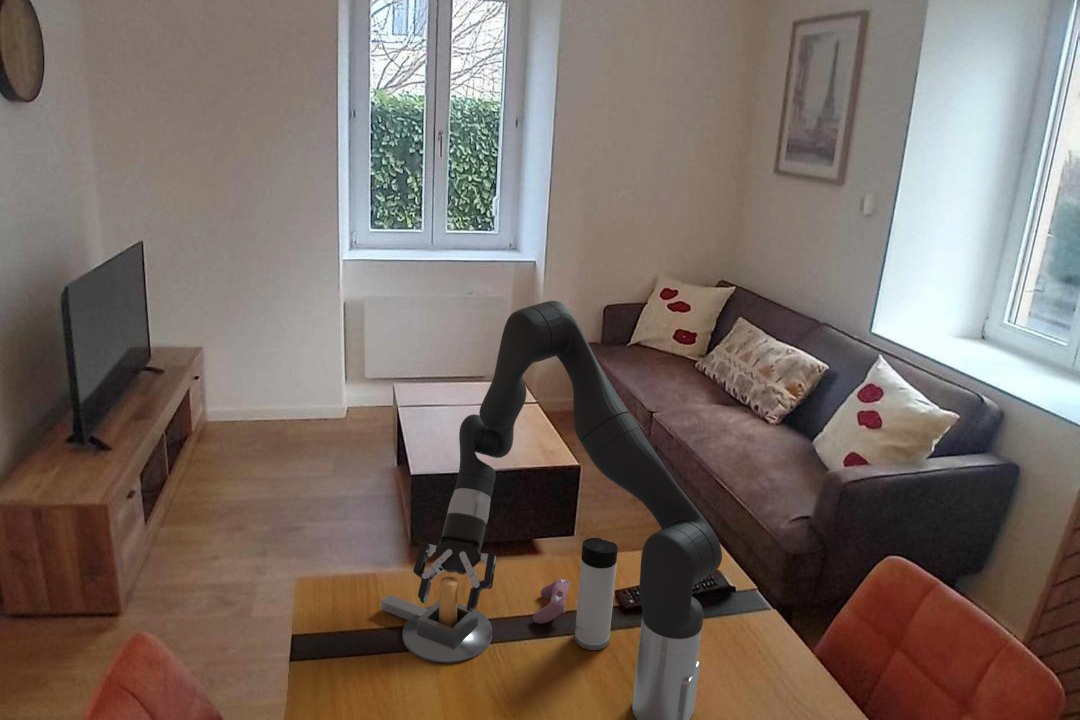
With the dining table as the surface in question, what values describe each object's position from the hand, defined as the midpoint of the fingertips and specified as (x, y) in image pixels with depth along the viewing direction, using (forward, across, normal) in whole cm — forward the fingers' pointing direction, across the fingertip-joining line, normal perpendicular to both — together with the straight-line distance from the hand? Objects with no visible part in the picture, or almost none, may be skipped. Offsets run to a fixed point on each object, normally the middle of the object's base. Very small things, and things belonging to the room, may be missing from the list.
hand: (446, 606), depth 144 cm
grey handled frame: (+3, -3, +6) cm, 8 cm away
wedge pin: (+3, 0, +5) cm, 6 cm away
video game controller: (-5, +17, +15) cm, 23 cm away
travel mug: (0, +25, +10) cm, 27 cm away
